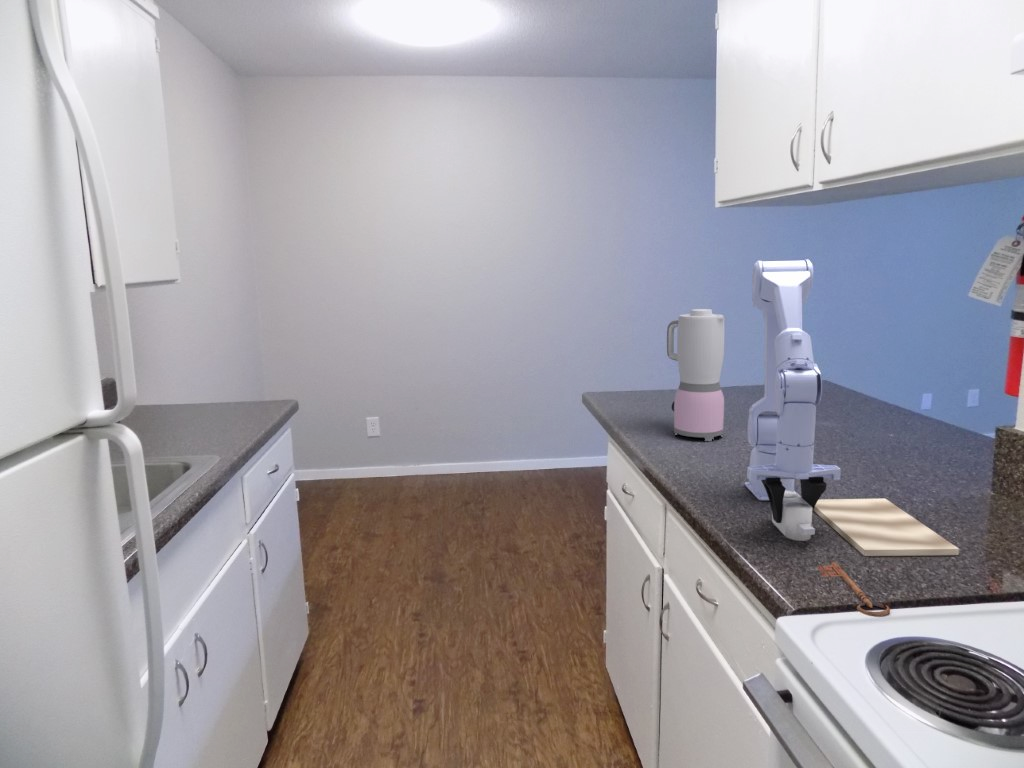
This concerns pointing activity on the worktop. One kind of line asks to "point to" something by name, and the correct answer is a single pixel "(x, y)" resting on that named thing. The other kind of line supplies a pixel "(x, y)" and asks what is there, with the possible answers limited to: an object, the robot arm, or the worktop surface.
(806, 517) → the plug
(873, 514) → the pad
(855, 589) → the key
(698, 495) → the worktop surface
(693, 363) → the blender
